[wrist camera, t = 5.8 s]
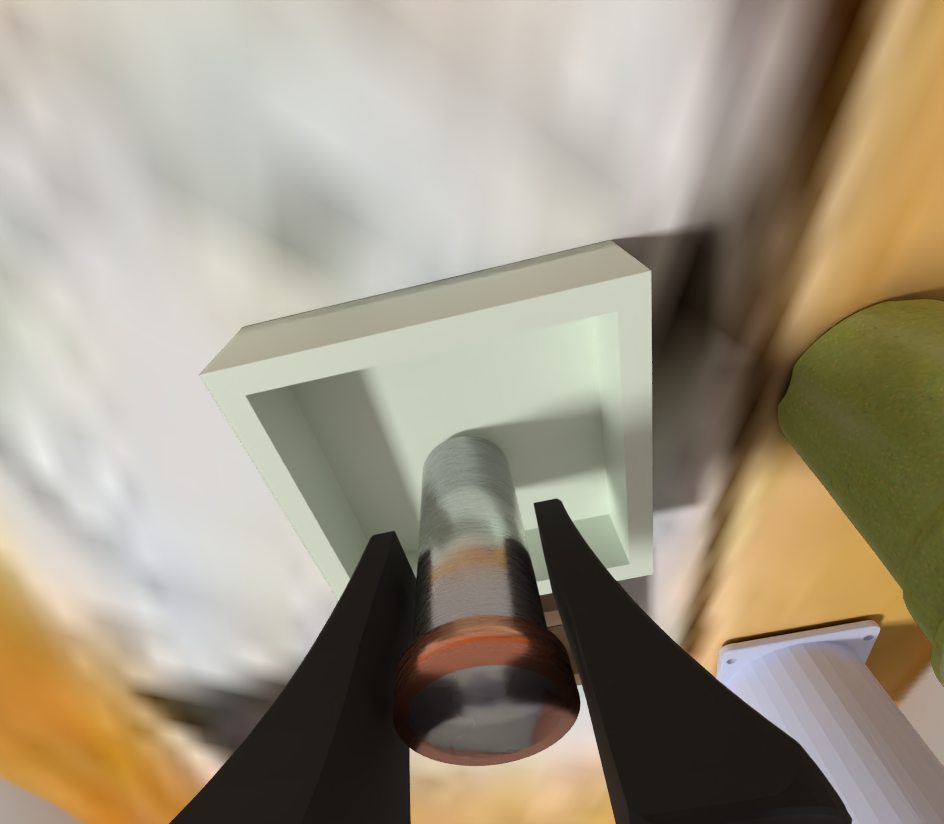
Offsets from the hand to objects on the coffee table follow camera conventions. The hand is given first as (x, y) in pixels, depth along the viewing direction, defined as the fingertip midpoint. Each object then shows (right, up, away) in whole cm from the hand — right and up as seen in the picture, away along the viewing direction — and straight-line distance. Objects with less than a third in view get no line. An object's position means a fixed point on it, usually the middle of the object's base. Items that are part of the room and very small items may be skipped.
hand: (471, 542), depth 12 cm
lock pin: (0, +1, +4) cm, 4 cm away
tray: (0, +3, +4) cm, 5 cm away
